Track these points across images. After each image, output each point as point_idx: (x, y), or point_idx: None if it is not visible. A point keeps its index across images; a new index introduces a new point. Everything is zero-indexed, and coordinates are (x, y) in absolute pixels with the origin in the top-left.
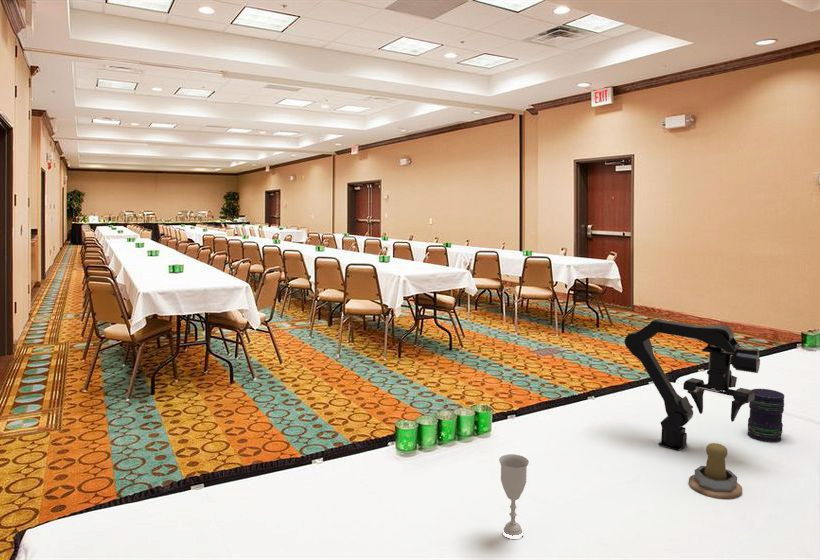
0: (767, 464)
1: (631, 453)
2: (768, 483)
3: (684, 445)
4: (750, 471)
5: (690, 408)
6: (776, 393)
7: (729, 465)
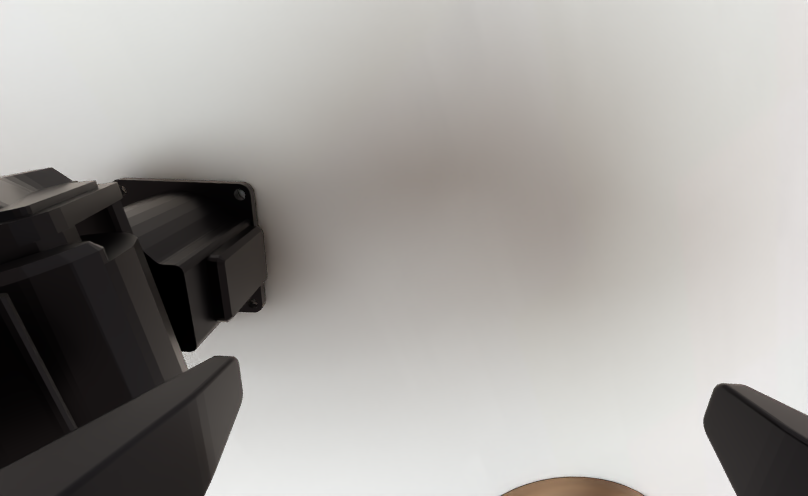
0: (776, 119)
1: None
2: (781, 388)
3: (263, 258)
4: (681, 306)
5: (48, 432)
6: None
7: (563, 305)
